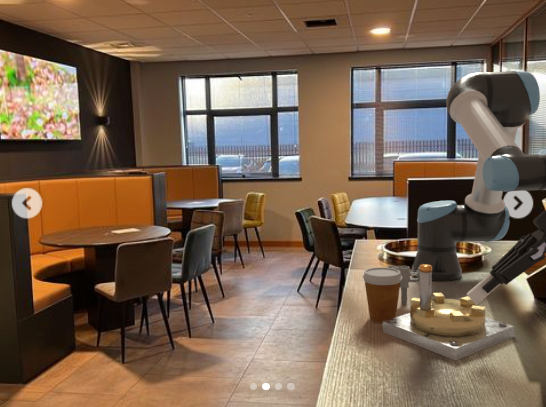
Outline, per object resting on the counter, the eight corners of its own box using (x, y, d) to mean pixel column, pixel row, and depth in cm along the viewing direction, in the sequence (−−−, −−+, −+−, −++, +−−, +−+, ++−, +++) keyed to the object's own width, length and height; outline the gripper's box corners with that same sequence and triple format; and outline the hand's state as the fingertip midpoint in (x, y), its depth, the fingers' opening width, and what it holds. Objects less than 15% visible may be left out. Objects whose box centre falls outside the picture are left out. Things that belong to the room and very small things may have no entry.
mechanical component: (424, 305, 138) (424, 268, 137) (384, 304, 140) (384, 268, 139) (423, 302, 141) (423, 265, 140) (384, 301, 143) (384, 265, 142)
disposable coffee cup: (379, 328, 123) (379, 279, 121) (355, 317, 131) (354, 270, 130) (410, 321, 127) (410, 272, 126) (385, 310, 136) (385, 265, 134)
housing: (439, 313, 132) (440, 302, 131) (514, 336, 115) (514, 324, 115) (382, 331, 121) (382, 319, 121) (455, 360, 104) (455, 346, 104)
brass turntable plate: (496, 320, 118) (497, 259, 116) (466, 341, 107) (467, 274, 105) (430, 306, 129) (430, 250, 127) (397, 324, 117) (396, 263, 116)
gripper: (540, 204, 110) (456, 278, 117) (556, 213, 98) (460, 295, 104) (567, 229, 110) (481, 302, 116) (586, 241, 97) (489, 322, 104)
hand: (471, 298), depth 110 cm, fingers closed
